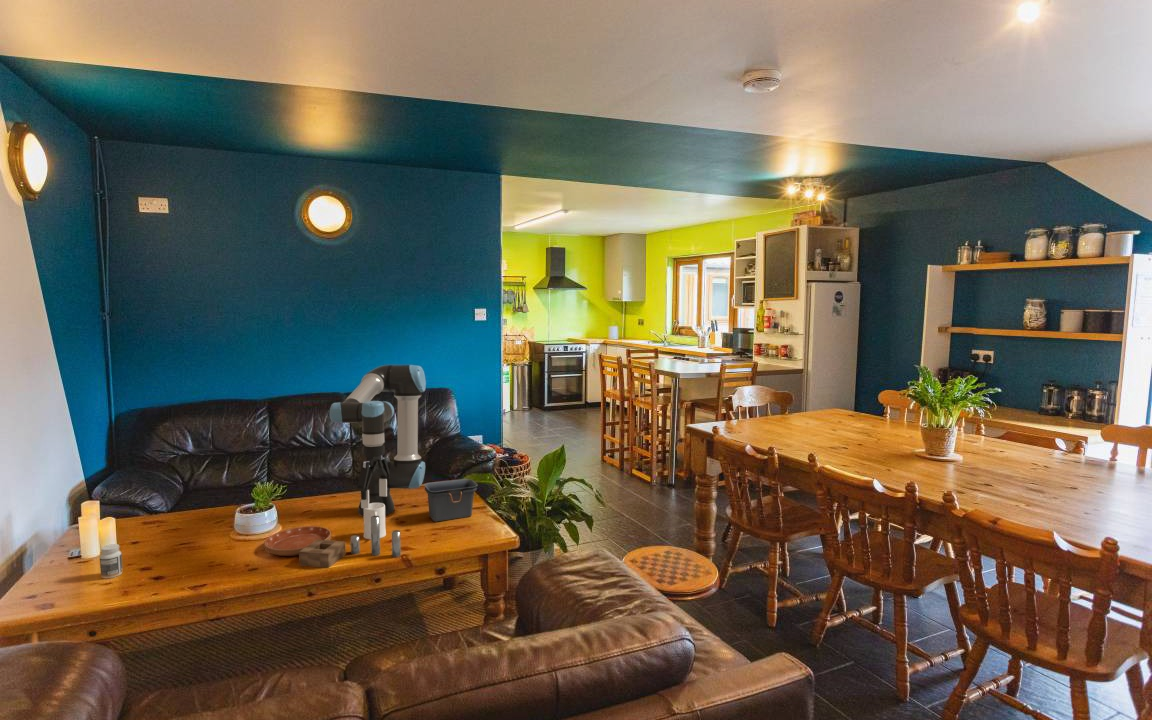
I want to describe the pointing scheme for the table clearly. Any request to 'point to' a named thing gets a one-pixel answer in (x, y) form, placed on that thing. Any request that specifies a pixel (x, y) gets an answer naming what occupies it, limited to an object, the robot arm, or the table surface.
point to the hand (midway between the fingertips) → (374, 502)
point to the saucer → (295, 540)
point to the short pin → (355, 544)
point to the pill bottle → (111, 561)
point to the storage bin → (450, 499)
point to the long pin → (375, 536)
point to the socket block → (322, 553)
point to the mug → (374, 510)
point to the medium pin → (396, 544)
